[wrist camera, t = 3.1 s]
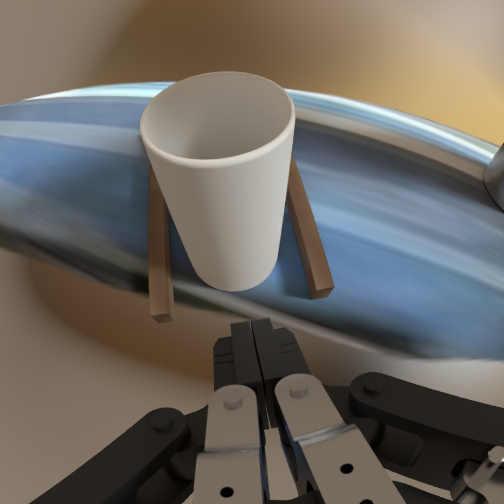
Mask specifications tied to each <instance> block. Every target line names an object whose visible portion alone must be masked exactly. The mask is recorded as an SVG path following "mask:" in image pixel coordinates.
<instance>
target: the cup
mask: <svg viewBox="0 0 504 504" xmlns="http://www.w3.org/2000/svg"><path fill="white" fill-rule="evenodd" d="M294 126H295V107H294V103H293V101H292V99H291V97H290V96H289V94H288V93H287V92H286V91H285V90H284V89H283V88H282V87H280V86H279V85H278V84H276V83H274V82H273V81H270V80H268V79H266V78H264V77H261V76H257V75H254V74H249V73H243V72H229V71H227V72H212V73H205V74H201V75H196V76H193V77H190V78H187V79H184V80H182V81H179V82H177V83H175V84H173V85H171V86H169V87H168V88H166V89H164V90H163V91H162V92H160V93H159V94H158V95H157V96H155V97H154V98H153V99H152V100H151V102H150V103H149V104H148V105H147V107H146V108H145V110H144V112H143V114H142V117H141V121H140V131H141V136H142V140H143V143H144V146H145V149H146V151H147V154H148V157H149V159H150V162H151V165H152V168H153V170H154V173H155V175H156V178H157V181H158V183H159V186H160V188H161V191H162V194H163V196H164V199H165V201H166V204H167V206H168V209H169V211H170V214H171V216H172V218H173V221H174V223H175V226H176V228H177V231H178V233H179V235H180V238H181V240H182V243H183V245H184V247H185V250H186V252H187V254H188V257H189V259H190V261H191V263H192V266H193V268H194V270H195V272H196V273H197V275H198V276H199V277H200V278H201V279H202V280H203V281H204V282H205V283H207V284H208V285H210V286H212V287H214V288H216V289H219V290H223V291H231V292H235V291H243V290H247V289H250V288H252V287H255V286H256V285H258V284H260V283H261V282H263V281H264V280H265V279H266V278H267V277H268V276H269V275H270V273H271V272H272V270H273V269H274V267H275V264H276V262H277V258H278V251H279V244H280V237H281V229H282V222H283V215H284V207H285V200H286V192H287V184H288V176H289V168H290V160H291V152H292V144H293V135H294Z"/></svg>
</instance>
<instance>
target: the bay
mask: <svg viewBox="0 0 504 504" xmlns="http://www.w3.org/2000/svg"><path fill="white" fill-rule="evenodd" d="M286 203H287V207H288V211H289V214H290V218H291V221H292V225H293V229H294V232H295V236H296V240H297V244H298V247H299V251H300V255H301V259H302V263H303V267H304V270H305V274H306V278H307V282H308V286H309V290H310V294H311V299H312V300H313V299H318V298H323V297H328V296H329V294H330V293H331V291H332V290H333V288H334V283H333V280H332V276H331V273H330V269H329V266H328V262H327V259H326V256H325V252H324V249H323V245H322V242H321V239H320V236H319V232H318V229H317V226H316V223H315V220H314V216H313V213H312V210H311V207H310V204H309V201H308V198H307V195H306V192H305V189H304V186H303V183H302V180H301V177H300V174H299V171H298V169H297V166H296V163H295V160H294V157H293V154H292V152H291V160H290V168H289V176H288V184H287V192H286ZM148 269H149V298H150V315H151V316H152V317H153V318H154V319H155V320H156V321H157V322H158V323H166V322H174V321H175V310H174V297H173V283H172V267H171V247H170V220H169V209H168V206H167V204H166V201H165V199H164V196H163V194H162V191H161V188H160V186H159V183H158V181H157V178H156V175H155V173H154V170H153V168H152V165H150V184H149V214H148Z"/></svg>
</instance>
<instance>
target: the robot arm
mask: <svg viewBox="0 0 504 504" xmlns="http://www.w3.org/2000/svg"><path fill="white" fill-rule="evenodd" d="M483 178H484V183H485V185H486V188H487V190H488V192H489V193H490V195H491V197H492V198H493V199H494V201H495V202H496V203H497V204H498V205H499V206H500V208H501V209H503V210H504V143H503V144H502V146H501V147H500V149H499V150H498V152H497V153H496V154H495V156H494V157H493V159H492V160H491V162H490V163H489V164H488V166H487V167H486V169H485V170H484V173H483ZM230 325H231V334H232V336H231V337H224V338H219V339H218V340H217V342H216V343H215V345H214V347H213V355H214V393H213V394H212V395H211V397H210V400H209V404H208V405H207V406H205V407H204V408H202V409H200V410H198V411H196V412H193V413H190V414H187V415H183V414H182V413H181V412H180V411H179V410H176V409H174V408H159V409H155V410H153V411H151V412H149V413H148V414H146V415H145V416H144V417H143V418H141V419H140V420H139V421H138V422H137V423H135V424H134V425H133V426H132V427H130V428H129V429H128V430H127V431H126V432H125V433H123V434H122V435H121V436H119V437H118V438H117V439H116V440H114V441H113V442H112V443H111V444H109V445H108V446H107V447H105V448H104V449H103V450H102V451H100V452H99V453H98V454H96V455H95V456H94V457H93V458H91V459H90V460H89V461H87V462H86V463H85V464H83V465H82V466H81V467H79V468H78V469H77V470H76V471H74V472H73V473H71V474H70V475H69V476H67V477H66V478H64V479H63V480H62V481H60V482H59V483H58V484H56V485H55V486H54V487H52V488H51V489H49V490H48V491H46V492H45V493H44V494H42V495H41V496H39V497H38V498H36V499H35V500H34V501H32V502H31V503H29V504H182V503H183V502H184V501H185V500H186V499H187V498H188V497H189V496H190V495H191V494H192V493H193V504H504V408H501V407H496V406H492V405H488V404H484V403H480V402H476V401H473V400H468V399H465V398H461V397H458V396H454V395H451V394H447V393H444V392H440V391H437V390H433V389H429V388H426V387H423V386H420V385H416V384H413V383H410V382H407V381H404V380H401V379H397V378H394V377H391V376H388V375H385V374H382V373H377V372H369V373H364V374H361V375H359V376H358V377H356V378H355V379H354V380H353V381H352V383H351V385H350V386H346V387H345V386H343V387H342V386H341V387H334V386H327V385H323V384H321V382H320V381H319V380H318V379H317V378H316V377H314V376H312V375H311V373H310V370H309V368H308V366H307V363H306V361H305V359H304V357H303V354H302V352H301V350H300V348H299V345H298V343H297V341H296V338H295V336H294V334H293V333H292V332H291V331H289V330H288V329H286V328H285V327H284V328H279V329H273V327H272V324H271V321H270V318H269V317H268V318H262V319H256V320H251V328H252V332H251V328H250V323H249V321H244V322H238V323H231V324H230ZM252 335H253V337H252ZM265 403H266V404H265ZM266 407H267V411H266ZM267 412H268V416H269V421H270V425H271V428H276V427H278V430H279V434H280V441H281V446H282V450H283V452H284V455H285V458H286V461H287V463H288V466H289V469H290V472H291V474H292V477H293V480H294V482H295V485H296V488H297V492H298V497H297V498H295V499H292V500H270V493H269V483H268V473H267V462H266V451H265V444H266V438H265V432H264V430H266V429H269V424H268V417H267ZM384 468H385V469H388V470H390V471H393V472H395V473H398V474H401V475H403V476H406V477H408V478H411V479H414V480H417V481H420V482H423V483H426V484H429V485H432V486H435V487H438V488H441V489H444V490H448V491H450V495H451V498H452V500H453V501H451V500H448V499H445V498H442V497H439V496H437V495H434V494H431V493H428V492H426V491H423V490H420V489H417V488H415V487H413V486H410V485H408V484H405V483H401V482H397V481H391V479H390V477H389V476H388V474H387V473H386V471H385V470H384Z"/></svg>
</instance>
